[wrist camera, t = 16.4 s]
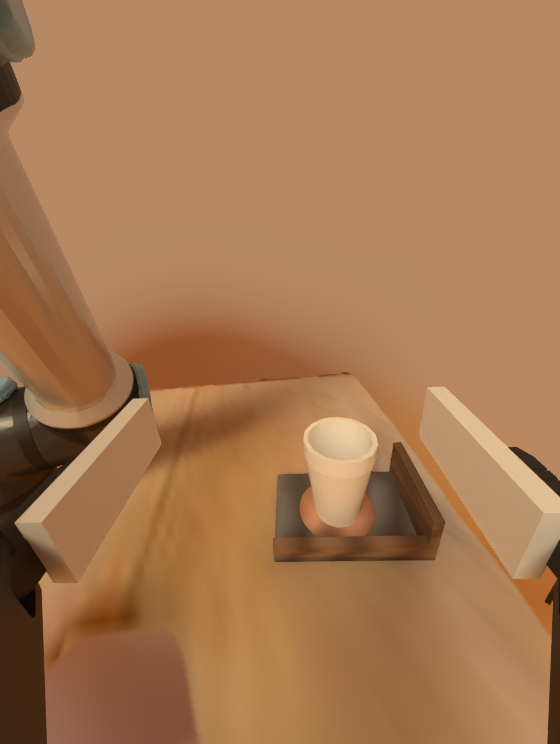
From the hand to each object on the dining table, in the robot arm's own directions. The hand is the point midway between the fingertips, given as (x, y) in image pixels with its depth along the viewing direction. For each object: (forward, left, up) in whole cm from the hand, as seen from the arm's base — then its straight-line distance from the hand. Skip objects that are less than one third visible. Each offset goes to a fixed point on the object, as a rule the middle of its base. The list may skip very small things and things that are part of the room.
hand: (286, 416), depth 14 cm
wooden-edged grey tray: (+7, +19, -30) cm, 36 cm away
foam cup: (+6, +19, -29) cm, 35 cm away
